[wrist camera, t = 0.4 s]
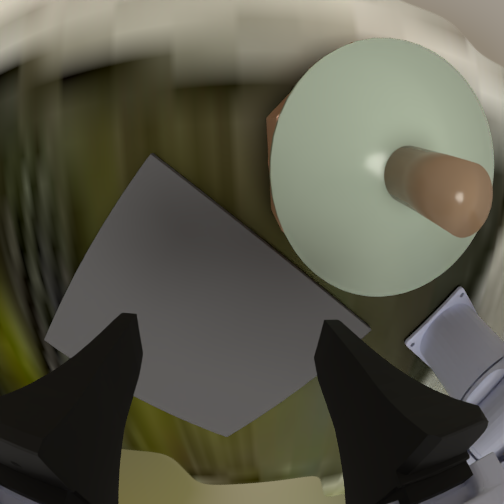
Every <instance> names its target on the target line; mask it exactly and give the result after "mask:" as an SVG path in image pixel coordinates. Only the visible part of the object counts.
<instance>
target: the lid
mask: <svg viewBox="0 0 504 504" xmlns="http://www.w3.org/2000/svg"><path fill="white" fill-rule="evenodd" d="M493 176H494V152H493V144H492V138H491V133H490V129H489V125H488V122H487V119H486V116H485V113H484V111H483V108H482V106H481V104H480V102H479V100H478V98H477V96H476V95H475V93H474V91H473V90H472V88H471V87H470V85H469V84H468V83H467V81H466V80H465V79H464V78H463V76H462V75H461V74H460V73H459V72H458V71H457V70H456V69H455V68H454V67H453V66H452V65H451V64H450V63H448V62H447V61H446V60H445V59H443V58H442V57H440V56H439V55H438V54H436V53H435V52H433V51H431V50H429V49H427V48H425V47H423V46H421V45H418V44H415V43H412V42H409V41H406V40H400V39H393V38H371V39H366V40H360V41H356V42H353V43H351V44H348V45H345V46H342V47H340V48H339V49H337V50H335V51H333V52H332V53H330V54H328V55H326V56H325V57H323V58H322V59H320V60H319V61H318V62H317V63H316V64H314V65H313V66H312V67H311V68H310V69H308V71H307V72H306V73H305V74H304V75H303V76H302V77H301V79H300V80H299V81H298V82H297V83H296V85H295V86H294V88H293V89H292V91H291V92H290V94H289V96H288V97H287V99H286V101H285V103H284V105H283V107H282V110H281V112H280V114H279V116H278V119H277V123H276V126H275V130H274V133H273V137H272V144H271V151H270V171H269V177H270V185H271V194H272V199H273V203H274V206H275V210H276V214H277V217H278V219H279V222H280V224H281V227H282V229H283V231H284V233H285V235H286V237H287V239H288V241H289V242H290V244H291V246H292V248H293V249H294V251H295V252H296V253H297V255H298V256H299V257H300V258H301V260H302V261H303V262H304V264H306V265H307V266H308V267H309V268H310V269H311V270H312V271H313V272H314V273H315V274H316V275H317V276H319V277H320V278H322V279H323V280H324V281H326V282H327V283H329V284H331V285H333V286H335V287H337V288H339V289H341V290H344V291H347V292H350V293H353V294H358V295H363V296H377V297H382V296H392V295H397V294H401V293H405V292H408V291H411V290H414V289H416V288H419V287H421V286H423V285H425V284H427V283H429V282H430V281H432V280H434V279H435V278H436V277H438V276H439V275H441V274H442V273H443V272H445V271H446V270H447V269H448V268H449V267H450V266H452V265H453V264H454V262H455V261H456V260H457V259H458V258H459V257H460V256H461V255H462V254H463V252H464V251H465V250H466V248H467V247H468V246H469V244H470V243H471V241H472V240H473V238H474V236H475V235H476V233H477V231H478V230H479V229H480V228H481V227H482V225H483V224H484V222H485V221H486V219H487V217H488V215H489V212H490V209H491V204H492V197H493V190H492V185H493Z"/></svg>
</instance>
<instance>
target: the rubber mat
mask: <svg viewBox="0 0 504 504" xmlns="http://www.w3.org/2000/svg"><path fill="white" fill-rule="evenodd" d="M121 313H134V314H137V319H138V325H139V332H140V337H141V343H142V349H143V358H142V364H141V370H140V375H139V379H138V382H137V385H136V389H135V392H134V395H133V396H135V397H137V398H139V399H141V400H143V401H145V402H147V403H149V404H151V405H153V406H155V407H157V408H159V409H161V410H163V411H165V412H167V413H170V414H172V415H174V416H176V417H178V418H181V419H183V420H185V421H188V422H190V423H192V424H195V425H197V426H200V427H202V428H205V429H207V430H210V431H212V432H215V433H217V434H220V435H223V436H226V437H228V436H229V435H231V434H233V433H234V432H236V431H238V430H239V429H241V428H242V427H244V426H246V425H247V424H249V423H250V422H252V421H253V420H255V419H256V418H258V417H259V416H261V415H262V414H264V413H265V412H267V411H268V410H270V409H271V408H273V407H274V406H276V405H277V404H279V403H280V402H282V401H283V400H284V399H286V398H287V397H289V396H290V395H291V394H293V393H294V392H296V391H297V390H298V389H300V388H301V387H302V386H304V385H305V384H306V383H308V382H309V381H310V380H312V379H313V378H314V377H316V376H317V372H316V367H315V361H314V355H315V352H316V348H317V345H318V341H319V337H320V334H321V330H322V326H323V322H324V320H340V321H341V322H342V323H343V324H344V325H346V326H347V327H348V328H349V329H350V330H351V331H352V332H353V333H354V334H356V335H357V336H358V337H359V338H360V339H362V338H363V337H364V336H365V335H366V334H367V333H369V332H370V331H371V328H370V327H369V325H367V324H366V323H365V322H364V321H363V320H361V319H360V318H359V317H358V316H356V315H355V314H354V313H353V312H352V311H350V310H349V309H348V308H347V307H346V306H344V305H343V304H342V303H341V302H339V301H338V300H337V299H336V298H335V297H333V296H332V295H331V294H330V293H329V292H327V291H326V290H325V289H324V288H322V287H321V286H320V285H319V284H317V283H316V282H315V281H314V280H313V279H311V278H310V277H309V276H308V275H306V274H305V273H304V272H303V271H301V270H300V269H299V268H298V267H297V266H295V265H294V264H293V263H292V262H290V261H289V260H288V259H287V258H285V257H284V256H283V255H282V254H280V253H279V252H278V251H277V250H275V249H274V248H273V247H272V246H270V245H269V244H268V243H267V242H265V241H264V240H263V239H262V238H260V237H259V236H258V235H257V234H255V233H254V232H253V231H252V230H250V229H249V228H248V227H247V226H245V225H244V224H243V223H242V222H240V221H239V220H238V219H237V218H235V217H234V216H233V215H232V214H230V213H229V212H228V211H226V210H225V209H224V208H223V207H221V206H220V205H219V204H218V203H216V202H215V201H214V200H213V199H211V198H210V197H209V196H207V195H206V194H205V193H204V192H202V191H201V190H200V189H198V188H197V187H196V186H195V185H193V184H192V183H191V182H190V181H188V180H187V179H186V178H184V177H183V176H182V175H181V174H179V173H178V172H177V171H175V170H174V169H173V168H171V167H170V166H169V165H168V164H166V163H165V162H164V161H162V160H161V159H160V158H159V157H157V156H156V155H155V154H153V153H152V154H150V156H149V157H148V158H147V160H146V161H145V162H144V164H143V165H142V167H141V168H140V169H139V171H138V172H137V174H136V175H135V176H134V178H133V179H132V181H131V182H130V184H129V185H128V187H127V188H126V190H125V191H124V193H123V194H122V196H121V197H120V199H119V200H118V202H117V203H116V205H115V206H114V208H113V210H112V211H111V213H110V214H109V216H108V217H107V219H106V221H105V222H104V224H103V226H102V227H101V229H100V231H99V232H98V234H97V236H96V237H95V239H94V241H93V243H92V244H91V246H90V248H89V250H88V251H87V253H86V255H85V257H84V259H83V260H82V262H81V264H80V266H79V268H78V270H77V272H76V273H75V275H74V277H73V279H72V281H71V283H70V285H69V287H68V289H67V291H66V293H65V295H64V297H63V299H62V301H61V303H60V306H59V308H58V310H57V312H56V314H55V316H54V319H53V321H52V323H51V325H50V328H49V330H48V332H47V335H46V337H45V339H44V340H45V341H47V342H48V343H49V344H51V345H52V346H53V347H55V348H56V349H58V350H59V351H61V352H62V353H63V354H65V355H66V356H68V357H69V358H72V357H73V356H74V355H76V354H77V353H78V352H79V351H80V350H82V349H83V348H84V347H85V346H86V345H88V344H89V343H90V342H91V341H92V340H93V339H94V338H95V337H96V336H97V335H99V334H100V333H101V332H102V331H103V330H104V329H105V328H106V327H107V326H108V325H109V324H110V323H111V322H112V321H113V320H114V319H115V318H117V317H118V316H119V315H120V314H121Z"/></svg>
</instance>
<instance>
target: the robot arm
mask: <svg viewBox="0 0 504 504" xmlns="http://www.w3.org/2000/svg"><path fill="white" fill-rule="evenodd" d="M405 344H406V346H407V347H408V348H409V349H410V350H412V351H413V352H414V353H415V354H416V355H417V356H418V357H419V358H420V359H421V360H423V361H424V362H425V363H426V364H427V365H428V366H429V367H430V368H431V369H432V370H433V372H434V373H435V375H436V376H437V378H438V379H439V381H440V382H441V384H442V385H443V387H444V388H445V390H446V391H447V393H448V394H449V396H447V395H445V394H442V393H440V392H438V391H435V390H433V389H431V388H429V387H427V386H425V385H423V384H422V383H420V382H418V381H416V380H414V379H413V378H411V377H409V376H408V375H406V374H405V373H403V372H402V371H400V370H399V369H397V368H396V367H394V366H393V365H392V364H390V363H389V362H388V361H386V360H385V359H384V358H382V357H381V356H380V355H379V354H377V353H376V352H375V351H374V350H373V349H371V348H370V347H369V346H368V345H367V344H366V343H365V342H363V341H362V340H361V339H360V338H359V337H358V336H357V335H356V334H354V333H353V332H352V331H351V330H350V329H349V328H348V327H347V326H346V325H344V324H343V323H342V322H341V321H340V320H324V322H323V326H322V330H321V334H320V337H319V341H318V345H317V348H316V352H315V355H314V361H315V367H316V372H317V377H318V381H319V384H320V387H321V390H322V393H323V395H324V398H325V401H326V404H327V407H328V410H329V413H330V416H331V418H332V421H333V425H334V428H335V432H336V437H337V442H338V446H339V452H340V458H341V464H342V470H343V479H344V487H345V500H346V504H504V342H503V341H502V340H501V339H500V338H499V337H498V335H497V334H496V333H495V332H494V331H493V330H492V329H491V328H490V327H489V326H488V325H487V324H486V323H485V322H484V321H483V320H482V319H481V318H480V317H479V316H478V314H477V312H476V310H475V308H474V306H473V305H472V303H471V301H470V299H469V297H468V296H467V294H466V292H465V290H464V289H463V288H462V287H461V286H460V287H458V288H457V289H456V290H455V291H454V292H453V293H452V294H451V295H450V296H449V297H448V299H447V300H446V301H445V302H444V303H443V304H442V305H441V306H440V307H439V308H438V309H437V310H436V311H435V312H434V313H433V314H432V315H431V316H430V317H429V318H428V319H427V320H426V321H425V322H424V323H423V324H422V325H421V326H420V327H419V328H418V329H417V330H416V331H415V332H414V333H412V334H411V335H410V336H409V337H408V338H407V339H406V341H405ZM142 358H143V349H142V343H141V337H140V332H139V325H138V319H137V314H134V313H121V314H120V315H119V316H118V317H117V318H115V319H114V320H113V321H112V322H111V323H110V324H109V325H108V326H107V327H106V328H105V329H104V330H103V331H102V332H101V333H100V334H99V335H97V336H96V337H95V338H94V339H93V340H92V341H91V342H90V343H89V344H88V345H86V346H85V347H84V348H83V349H82V350H80V351H79V352H78V353H77V354H76V355H74V356H73V357H72V358H71V359H69V360H68V361H67V362H65V363H64V364H62V365H61V366H60V367H58V368H57V369H55V370H54V371H52V372H50V373H49V374H47V375H45V376H43V377H42V378H40V379H38V380H36V381H35V382H33V383H31V384H29V385H27V386H25V387H23V388H21V389H18V390H16V391H14V392H11V393H9V394H6V395H3V396H0V504H118V487H119V468H120V458H121V448H122V441H123V434H124V428H125V423H126V419H127V416H128V412H129V409H130V405H131V402H132V399H133V395H134V392H135V389H136V385H137V382H138V379H139V375H140V370H141V364H142Z"/></svg>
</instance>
